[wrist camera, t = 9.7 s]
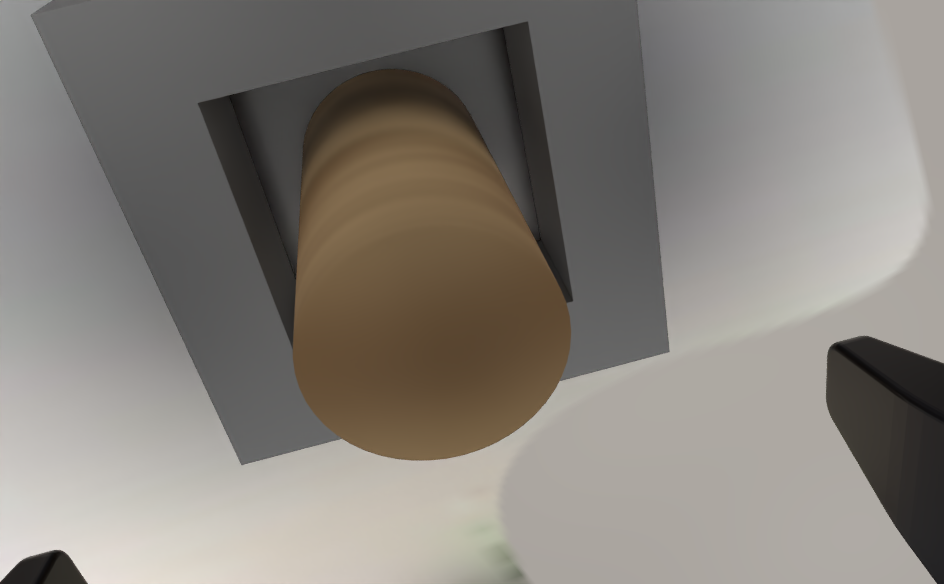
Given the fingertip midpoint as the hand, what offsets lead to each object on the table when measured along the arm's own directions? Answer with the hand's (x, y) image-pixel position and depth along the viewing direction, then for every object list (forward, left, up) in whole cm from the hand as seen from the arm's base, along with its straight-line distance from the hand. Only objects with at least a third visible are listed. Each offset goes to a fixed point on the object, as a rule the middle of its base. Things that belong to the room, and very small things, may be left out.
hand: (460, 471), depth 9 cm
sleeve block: (0, 0, -11) cm, 11 cm away
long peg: (0, 0, -11) cm, 11 cm away
